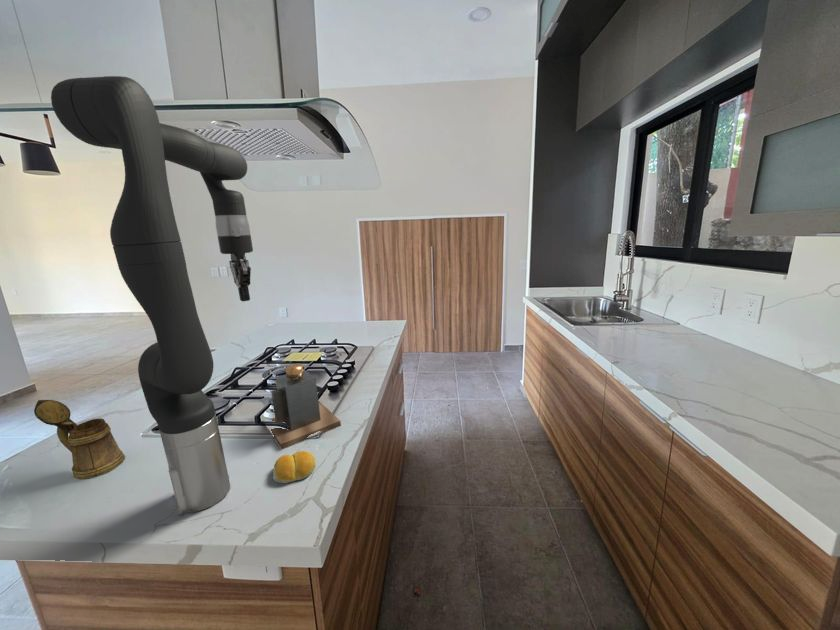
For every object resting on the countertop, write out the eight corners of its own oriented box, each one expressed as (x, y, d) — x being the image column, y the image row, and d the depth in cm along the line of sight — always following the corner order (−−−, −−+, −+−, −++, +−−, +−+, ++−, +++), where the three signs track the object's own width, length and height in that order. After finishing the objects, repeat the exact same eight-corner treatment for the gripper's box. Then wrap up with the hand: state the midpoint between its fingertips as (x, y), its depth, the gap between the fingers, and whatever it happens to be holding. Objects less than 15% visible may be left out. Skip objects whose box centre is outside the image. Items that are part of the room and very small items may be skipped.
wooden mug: (78, 456, 85) (56, 391, 81) (134, 453, 86) (116, 387, 81) (41, 482, 77) (15, 410, 72) (104, 478, 77) (82, 406, 73)
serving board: (281, 449, 85) (280, 444, 84) (264, 423, 97) (263, 418, 97) (340, 425, 94) (340, 420, 94) (318, 404, 107) (317, 399, 106)
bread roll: (318, 476, 75) (316, 460, 74) (274, 489, 72) (271, 473, 71) (314, 454, 83) (312, 440, 82) (274, 465, 80) (271, 450, 79)
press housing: (282, 434, 89) (275, 390, 85) (273, 422, 95) (266, 380, 92) (320, 420, 95) (315, 378, 92) (309, 409, 101) (304, 369, 98)
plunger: (293, 422, 91) (286, 373, 87) (286, 414, 96) (279, 366, 92) (315, 414, 94) (309, 366, 91) (307, 406, 99) (301, 360, 96)
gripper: (213, 235, 90) (225, 299, 94) (222, 234, 80) (234, 306, 84) (244, 234, 94) (254, 295, 99) (256, 233, 84) (266, 301, 89)
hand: (245, 300), depth 91 cm, fingers closed
